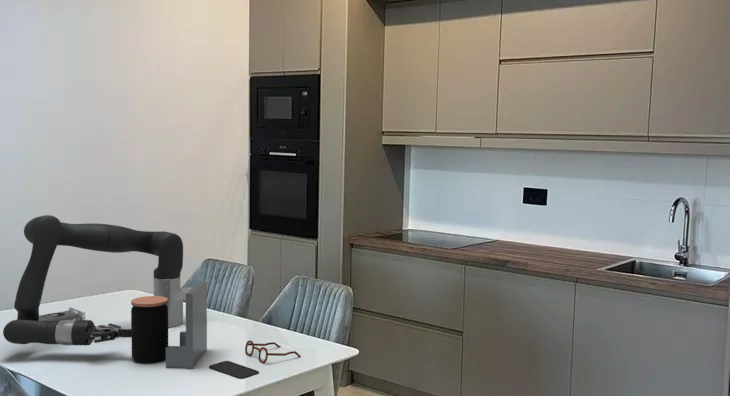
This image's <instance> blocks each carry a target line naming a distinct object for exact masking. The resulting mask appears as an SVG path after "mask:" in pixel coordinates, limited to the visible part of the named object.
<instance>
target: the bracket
mask: <svg viewBox="0 0 730 396" xmlns="http://www.w3.org/2000/svg"><path fill="white" fill-rule="evenodd" d="M207 282H208V281H206V280H201V281H198V283H196V284H195V285H194V286H192V287H181V288H180V289H179V290H178V291H177V292H175V300H183V301H185V331H179V345H168V346H167V347H166V359H165V368H166V369H186V370H189V369H190V370H194V368H195V366H196V365H197V364H198V363H199V361H201V358H203V356H204V355H205V353H206V352H207V350H208V324H207V323H208V320H207V319H208V316H207V315H208V314H207V312H208V310H207V309H208V303H207V302H208V299H207V298H208V297H207V294H208V293H207V292H208V291H207V289H208V288H207V286H208V285H207Z"/></svg>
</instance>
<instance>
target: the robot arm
mask: <svg viewBox="0 0 730 396" xmlns="http://www.w3.org/2000/svg"><path fill="white" fill-rule="evenodd" d="M23 235H24V237H25V239H26V240H27V241H28V242H29V243H31V244H32V249H31V254H30V258H29V260H28V262H27V265H26V267H25V269H24V271H23V274H22V275H21V278H20V281H19V283H18V288H17V290H16V291H17V292H16V294H15V299H14V304H13V305H14V306H13V307H14V310H16V312H17V318H16V319H14V320H13V319H12V320H10V321H9V322H8V323H6V324H5V326H4V327H3V330H2V335H3V337H4V339H5V341H7V342H9V343H11V344H16V345H28V344H43V345H63V346H91V345H92V343H95V344H97V343H102V342H109V341H114V340H116V339H120V338H131V328H122V326H121V325H118V324H114V323H108V324H107V325H105V324H99V325H98V326H96V325H95V323H94V321H93V320H91V319H84V320H64V321H39V316H40V305H41V302H42V297H43V292H44V287H45V284H46V279H47V276H48V271H49V268H50V266H51V263H52V260H53V256H54V254H55V252H56V249H57V248H58V246H64V247H65V246H66V247H73V248H78V249H83V250H89V251H96V252H104V253H114V254H115V253H118V254H119V253H131V252H137V253H144V254H148V255H154V256H156V257H158V258H157V261H158V262H157V263H158V264H157V267H156V268H155V269H154V270H153V296H161V297H166V298H168V303H167V304H166V305H167V306H168V328H173V327H178V326H180V325H181V324H184V300H175V292H177V291H178V290H179V289H180V288H182V287H181V286H182V285H181V272H182V270H183V264H184V244H183V239H182V237H180V235H178V234H176V233H173V232H169V231H149V230H148V231H147V230H146V231H145V230H137V229H132V228H129V227H126V226H125V227H124V226H121V225H115V224H108V223H107V224H106V223H92V222H91V223H67V222H62V221H60V219H59V218H57V217H56V216H55V215H49V214H47V215H46V214H45V215H40V216H37V217H34V218H32V219H30V220H29V221H28V222H27V223H26V224H25V226H24V228H23Z"/></svg>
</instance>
